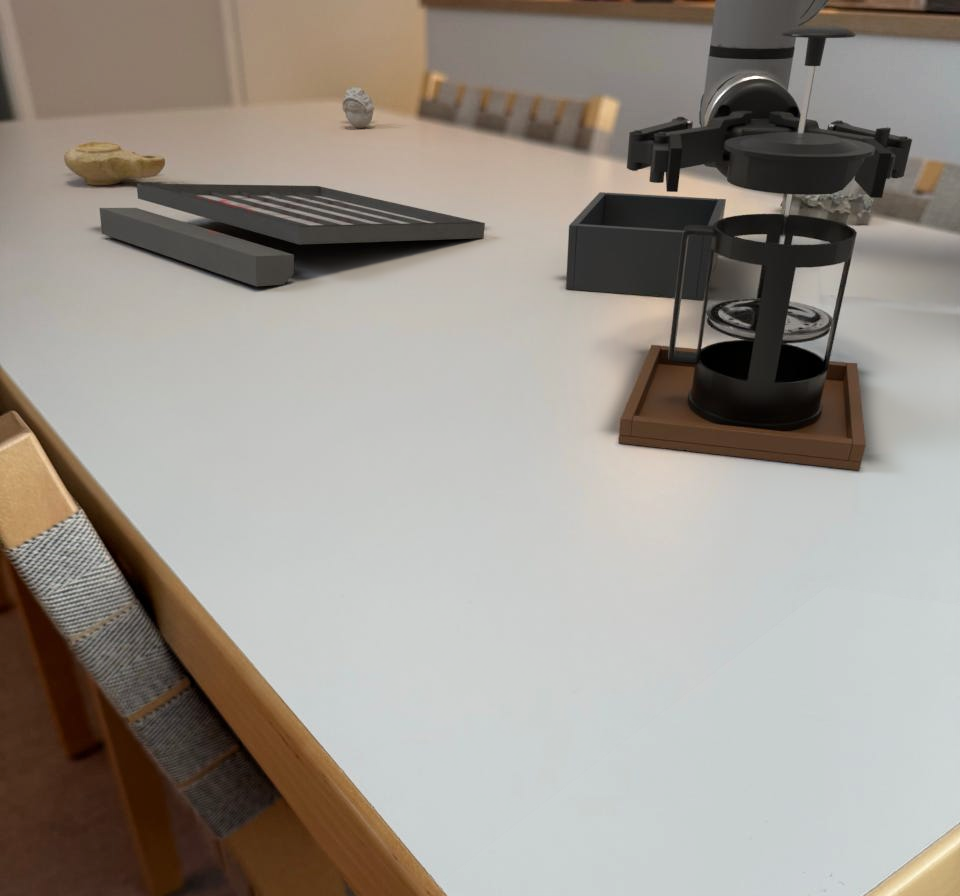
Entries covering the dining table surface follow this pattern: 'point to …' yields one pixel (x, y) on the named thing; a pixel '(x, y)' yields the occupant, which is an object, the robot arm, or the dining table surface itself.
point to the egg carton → (832, 207)
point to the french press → (773, 275)
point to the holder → (641, 244)
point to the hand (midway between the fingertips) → (776, 173)
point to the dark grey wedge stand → (270, 225)
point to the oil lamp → (110, 163)
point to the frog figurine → (358, 107)
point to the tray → (672, 424)
